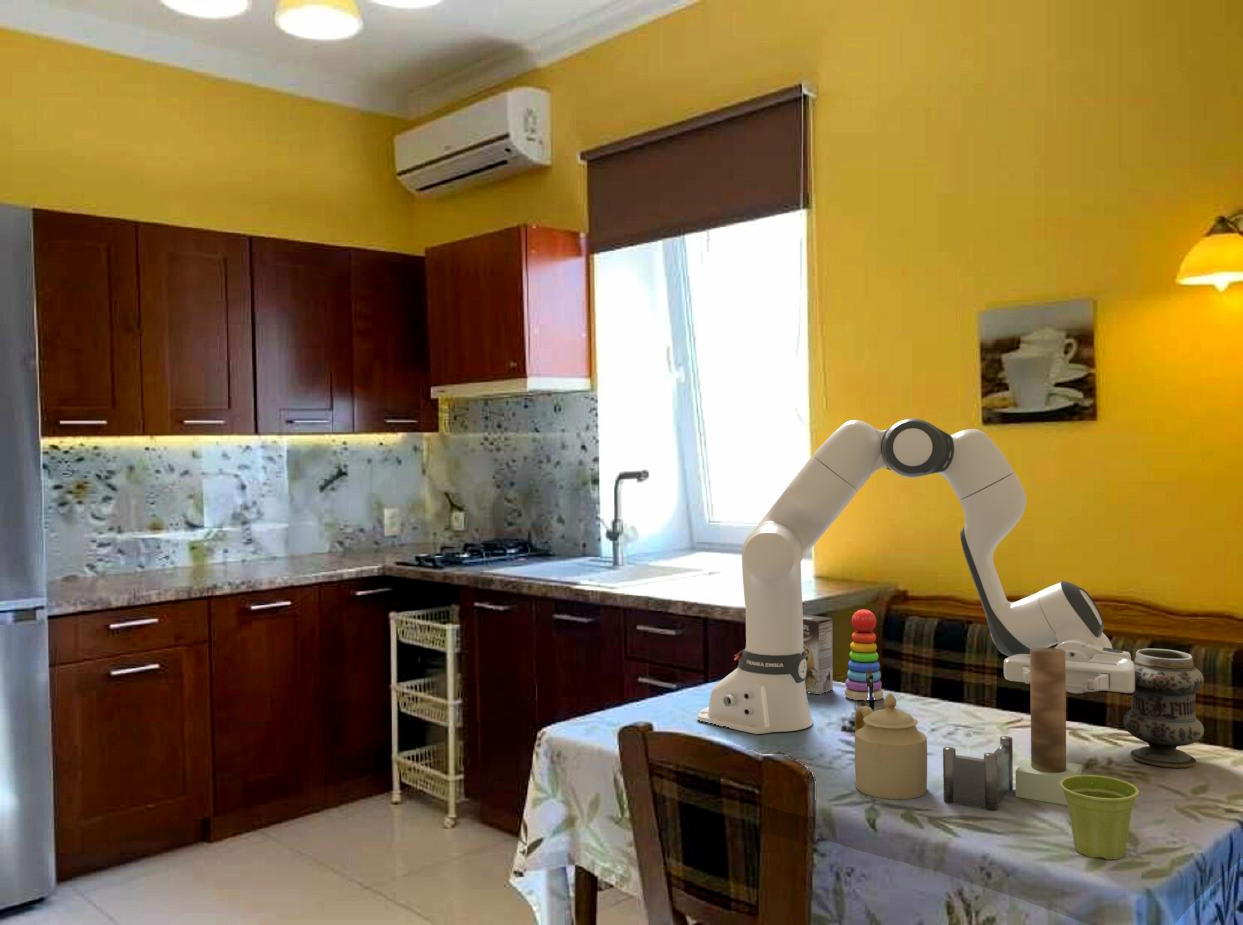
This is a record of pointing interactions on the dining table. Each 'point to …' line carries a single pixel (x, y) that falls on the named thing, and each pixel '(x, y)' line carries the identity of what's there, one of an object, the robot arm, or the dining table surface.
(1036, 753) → the brown wooden cylinder
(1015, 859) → the dining table surface
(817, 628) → the coffee box
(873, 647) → the stacking toy
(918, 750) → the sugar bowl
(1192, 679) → the apothecary jar
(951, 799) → the corner post block
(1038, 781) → the block
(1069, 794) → the plant pot
